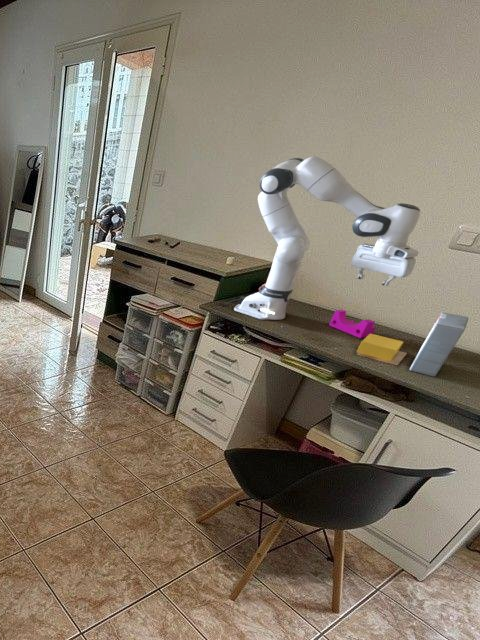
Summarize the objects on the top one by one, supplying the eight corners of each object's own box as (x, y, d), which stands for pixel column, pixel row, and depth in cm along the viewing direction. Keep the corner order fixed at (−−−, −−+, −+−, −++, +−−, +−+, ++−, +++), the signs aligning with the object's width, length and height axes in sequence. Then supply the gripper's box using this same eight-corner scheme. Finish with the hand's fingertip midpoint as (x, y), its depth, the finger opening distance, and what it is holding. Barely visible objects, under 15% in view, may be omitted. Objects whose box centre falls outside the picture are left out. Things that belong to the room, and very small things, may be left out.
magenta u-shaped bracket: (371, 336, 190) (379, 321, 186) (360, 338, 188) (367, 322, 185) (339, 323, 202) (346, 309, 198) (328, 325, 201) (335, 310, 197)
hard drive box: (414, 357, 172) (441, 311, 162) (440, 363, 167) (470, 317, 157) (408, 370, 163) (436, 323, 153) (435, 377, 158) (466, 329, 148)
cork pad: (356, 354, 175) (356, 354, 175) (367, 343, 184) (367, 342, 184) (397, 365, 167) (397, 365, 166) (406, 353, 175) (407, 353, 175)
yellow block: (361, 341, 174) (396, 350, 167) (370, 333, 180) (403, 341, 173) (356, 352, 177) (390, 361, 169) (364, 343, 183) (397, 352, 175)
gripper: (355, 243, 175) (340, 276, 182) (413, 254, 158) (394, 290, 165) (365, 241, 176) (350, 274, 184) (424, 253, 160) (405, 288, 167)
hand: (372, 282), depth 174 cm, fingers open, 8 cm apart
